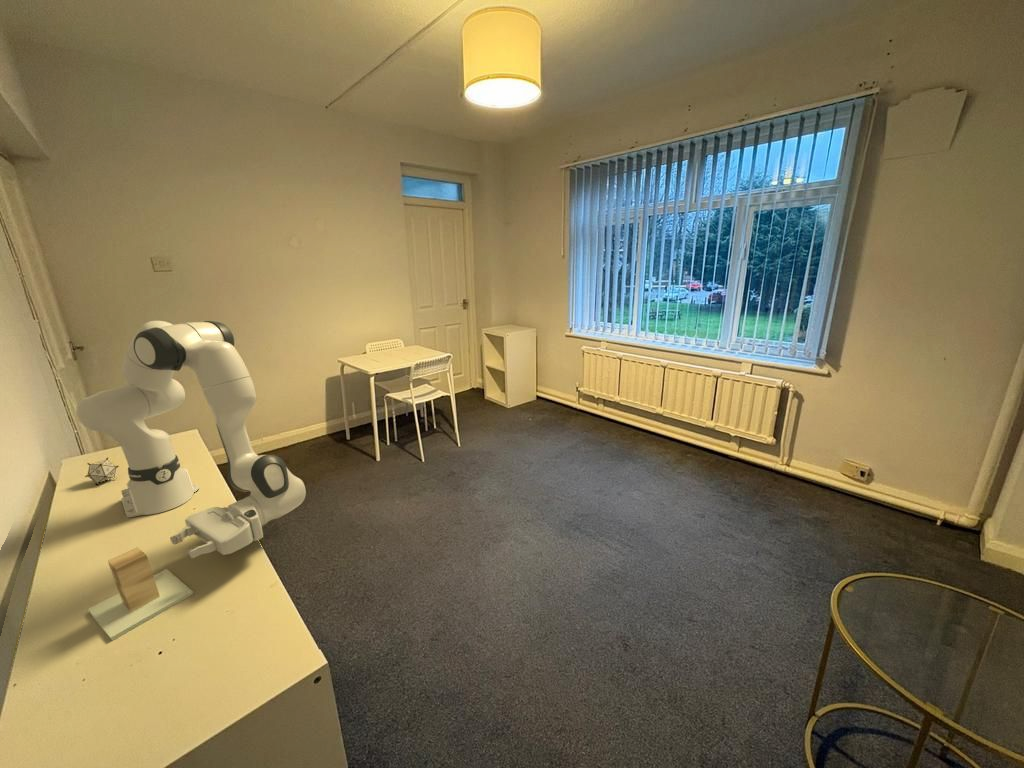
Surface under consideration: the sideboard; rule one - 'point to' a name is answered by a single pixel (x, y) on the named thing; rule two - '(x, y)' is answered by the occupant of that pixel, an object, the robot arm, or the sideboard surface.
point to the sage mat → (122, 620)
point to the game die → (101, 471)
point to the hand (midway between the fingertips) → (180, 547)
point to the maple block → (134, 578)
